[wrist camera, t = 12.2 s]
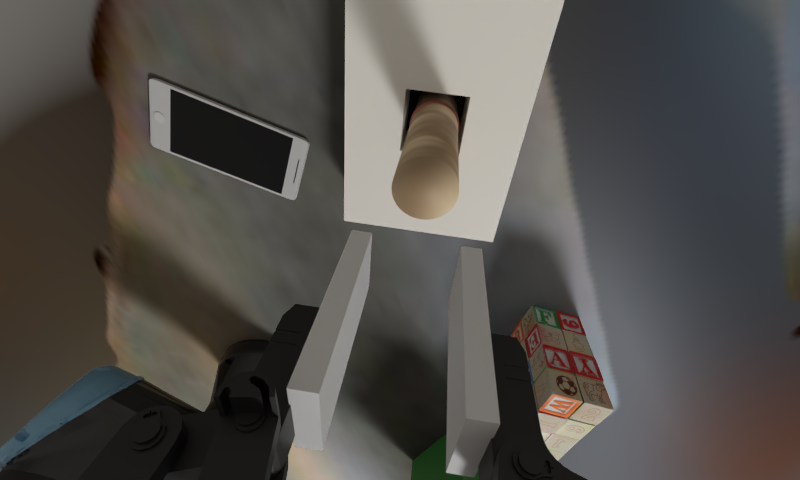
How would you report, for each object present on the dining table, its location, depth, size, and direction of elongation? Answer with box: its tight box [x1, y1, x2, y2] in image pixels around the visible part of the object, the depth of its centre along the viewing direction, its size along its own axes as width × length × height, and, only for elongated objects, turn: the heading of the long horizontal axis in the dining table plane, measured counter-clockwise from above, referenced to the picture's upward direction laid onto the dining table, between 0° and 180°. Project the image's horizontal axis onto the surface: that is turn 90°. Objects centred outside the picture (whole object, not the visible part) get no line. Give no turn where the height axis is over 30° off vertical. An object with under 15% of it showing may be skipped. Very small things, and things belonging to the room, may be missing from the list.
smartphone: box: [149, 78, 310, 200], centre depth 37 cm, size 7×16×1 cm, turn 69°
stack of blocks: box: [510, 305, 613, 461], centre depth 46 cm, size 21×6×12 cm, turn 166°
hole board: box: [344, 0, 564, 242], centre depth 30 cm, size 14×20×5 cm
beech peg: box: [392, 91, 459, 220], centre depth 26 cm, size 4×4×16 cm
